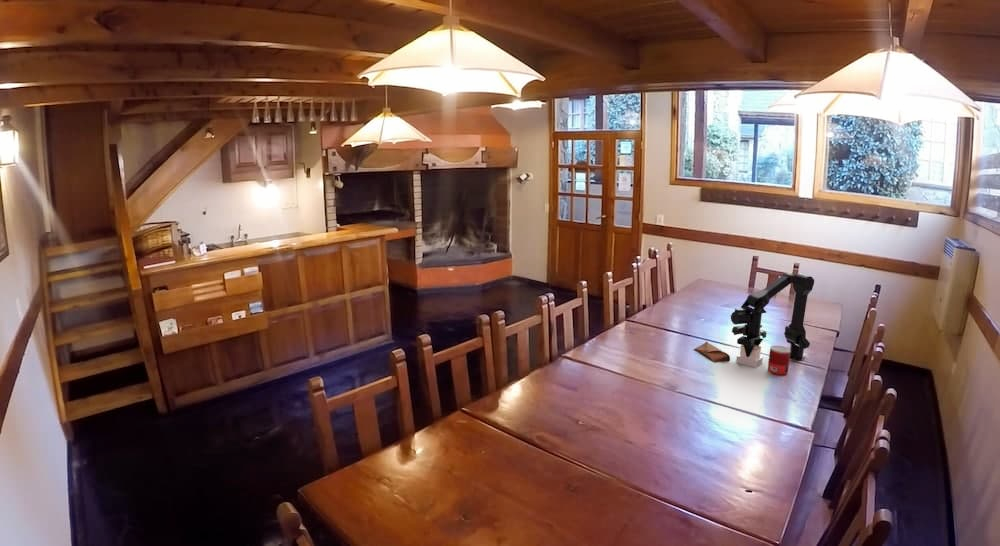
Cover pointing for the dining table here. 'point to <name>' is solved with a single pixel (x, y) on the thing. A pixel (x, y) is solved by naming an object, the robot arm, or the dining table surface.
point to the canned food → (779, 360)
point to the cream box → (754, 354)
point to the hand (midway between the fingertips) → (749, 355)
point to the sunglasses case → (712, 353)
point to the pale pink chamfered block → (749, 361)
